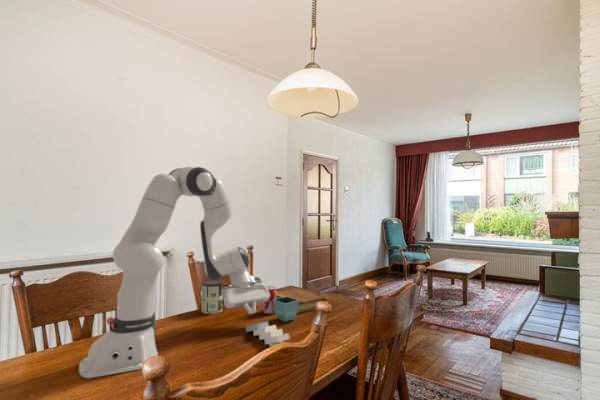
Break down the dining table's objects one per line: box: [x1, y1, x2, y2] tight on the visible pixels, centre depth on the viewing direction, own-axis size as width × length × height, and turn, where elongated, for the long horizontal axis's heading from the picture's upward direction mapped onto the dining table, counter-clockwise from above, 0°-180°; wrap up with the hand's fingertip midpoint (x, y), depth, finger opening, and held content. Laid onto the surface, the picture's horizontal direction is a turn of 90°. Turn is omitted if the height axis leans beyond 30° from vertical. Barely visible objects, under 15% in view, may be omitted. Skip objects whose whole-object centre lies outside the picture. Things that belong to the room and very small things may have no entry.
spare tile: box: [245, 320, 270, 333], centre depth 130 cm, size 5×2×10 cm
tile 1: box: [252, 324, 278, 337], centre depth 126 cm, size 5×2×10 cm
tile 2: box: [258, 328, 284, 341], centre depth 122 cm, size 5×2×10 cm
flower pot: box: [273, 297, 299, 323], centre depth 148 cm, size 9×9×9 cm
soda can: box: [261, 285, 278, 315], centre depth 158 cm, size 7×7×12 cm
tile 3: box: [263, 333, 290, 345], centre depth 118 cm, size 5×2×10 cm
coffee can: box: [201, 279, 224, 315], centre depth 159 cm, size 10×10×14 cm
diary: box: [277, 288, 327, 315], centre depth 170 cm, size 23×19×6 cm
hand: (252, 312), depth 134 cm, fingers closed
